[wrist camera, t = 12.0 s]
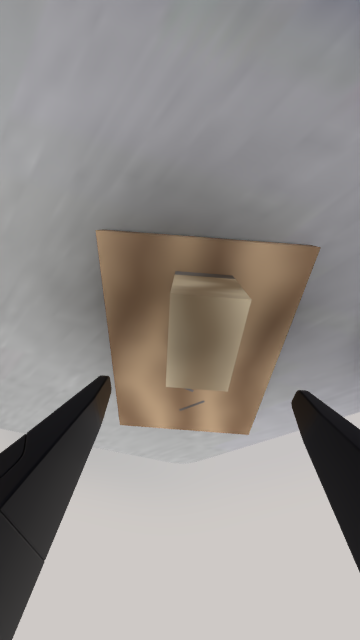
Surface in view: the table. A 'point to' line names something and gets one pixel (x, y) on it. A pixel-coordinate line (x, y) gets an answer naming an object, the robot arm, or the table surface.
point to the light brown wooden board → (153, 322)
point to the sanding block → (204, 330)
